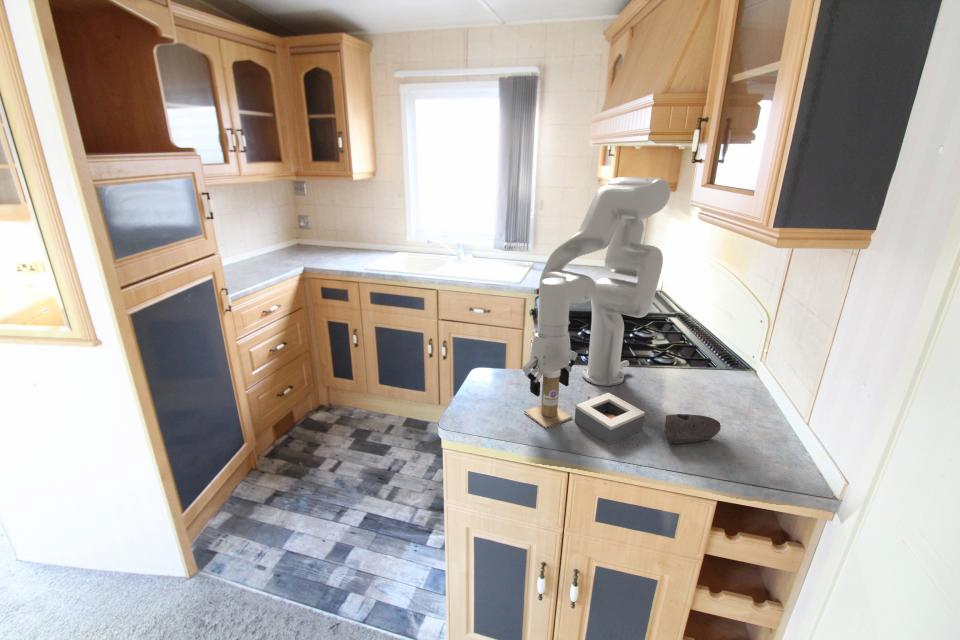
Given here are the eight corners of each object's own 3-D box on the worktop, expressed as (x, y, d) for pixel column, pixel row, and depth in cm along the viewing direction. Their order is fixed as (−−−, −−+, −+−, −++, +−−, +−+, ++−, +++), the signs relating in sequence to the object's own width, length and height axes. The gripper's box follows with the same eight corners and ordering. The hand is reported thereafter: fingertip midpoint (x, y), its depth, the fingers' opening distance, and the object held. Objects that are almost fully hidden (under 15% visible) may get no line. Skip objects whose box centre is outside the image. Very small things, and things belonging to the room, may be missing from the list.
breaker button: (607, 417, 121) (608, 412, 120) (621, 425, 117) (621, 420, 117) (595, 422, 119) (595, 417, 118) (608, 431, 115) (609, 425, 114)
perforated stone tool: (712, 432, 115) (717, 408, 113) (724, 444, 110) (730, 419, 108) (655, 435, 114) (658, 411, 112) (664, 448, 109) (669, 423, 107)
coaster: (549, 403, 129) (549, 401, 128) (571, 418, 121) (572, 416, 121) (524, 412, 124) (524, 410, 124) (545, 428, 117) (545, 426, 117)
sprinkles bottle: (547, 419, 120) (549, 373, 115) (537, 411, 124) (539, 366, 119) (561, 415, 122) (564, 369, 117) (551, 407, 126) (553, 362, 121)
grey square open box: (606, 408, 126) (608, 392, 124) (642, 429, 116) (644, 412, 115) (574, 421, 120) (575, 404, 118) (609, 444, 110) (611, 426, 109)
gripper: (568, 317, 121) (564, 375, 127) (515, 330, 113) (514, 391, 119) (588, 325, 115) (583, 386, 121) (534, 340, 107) (532, 404, 113)
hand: (549, 388), depth 120 cm, fingers open, 9 cm apart
